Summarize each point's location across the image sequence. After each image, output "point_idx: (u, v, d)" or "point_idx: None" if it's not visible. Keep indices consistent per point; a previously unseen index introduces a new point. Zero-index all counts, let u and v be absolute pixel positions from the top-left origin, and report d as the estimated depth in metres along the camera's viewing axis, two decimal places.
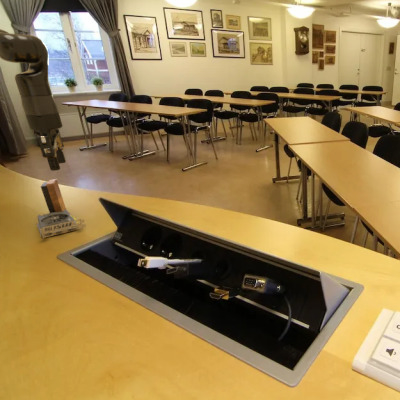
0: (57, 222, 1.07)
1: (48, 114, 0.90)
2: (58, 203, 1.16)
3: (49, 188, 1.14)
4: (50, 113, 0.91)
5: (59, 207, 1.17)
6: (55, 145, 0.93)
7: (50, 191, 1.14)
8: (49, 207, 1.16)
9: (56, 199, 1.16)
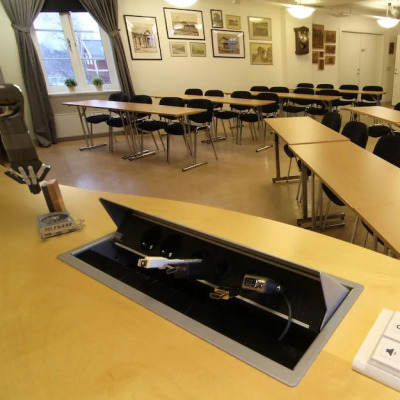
0: (57, 222, 1.07)
1: (6, 149, 1.05)
2: (58, 203, 1.16)
3: (49, 188, 1.14)
4: (6, 149, 1.05)
5: (59, 207, 1.17)
6: (22, 176, 1.10)
7: (50, 191, 1.14)
8: (49, 207, 1.16)
9: (56, 199, 1.16)
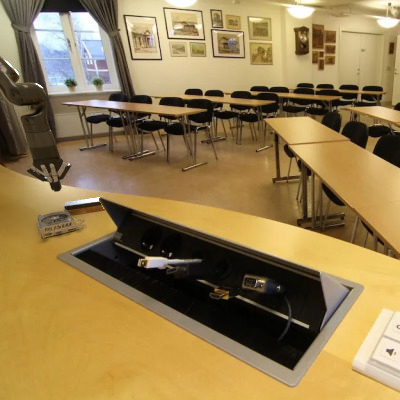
0: (57, 222, 1.07)
1: (29, 147, 1.08)
2: (81, 212, 1.21)
3: (99, 207, 1.23)
4: (29, 147, 1.08)
5: (75, 213, 1.20)
6: (44, 173, 1.13)
7: (95, 207, 1.22)
8: (75, 205, 1.19)
9: (86, 211, 1.21)
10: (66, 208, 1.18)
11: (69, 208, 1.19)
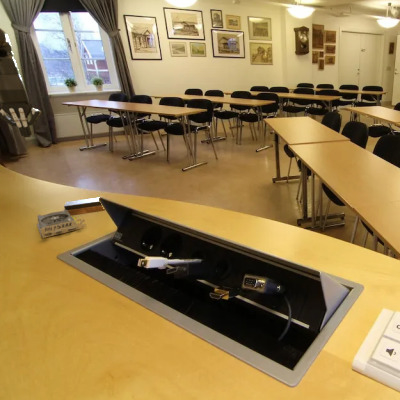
0: (57, 222, 1.07)
1: None
2: (81, 212, 1.21)
3: (99, 207, 1.23)
4: None
5: (75, 213, 1.20)
6: (13, 118, 1.15)
7: (95, 207, 1.22)
8: (75, 205, 1.19)
9: (86, 211, 1.21)
10: (66, 208, 1.18)
11: (69, 208, 1.19)
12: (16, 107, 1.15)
